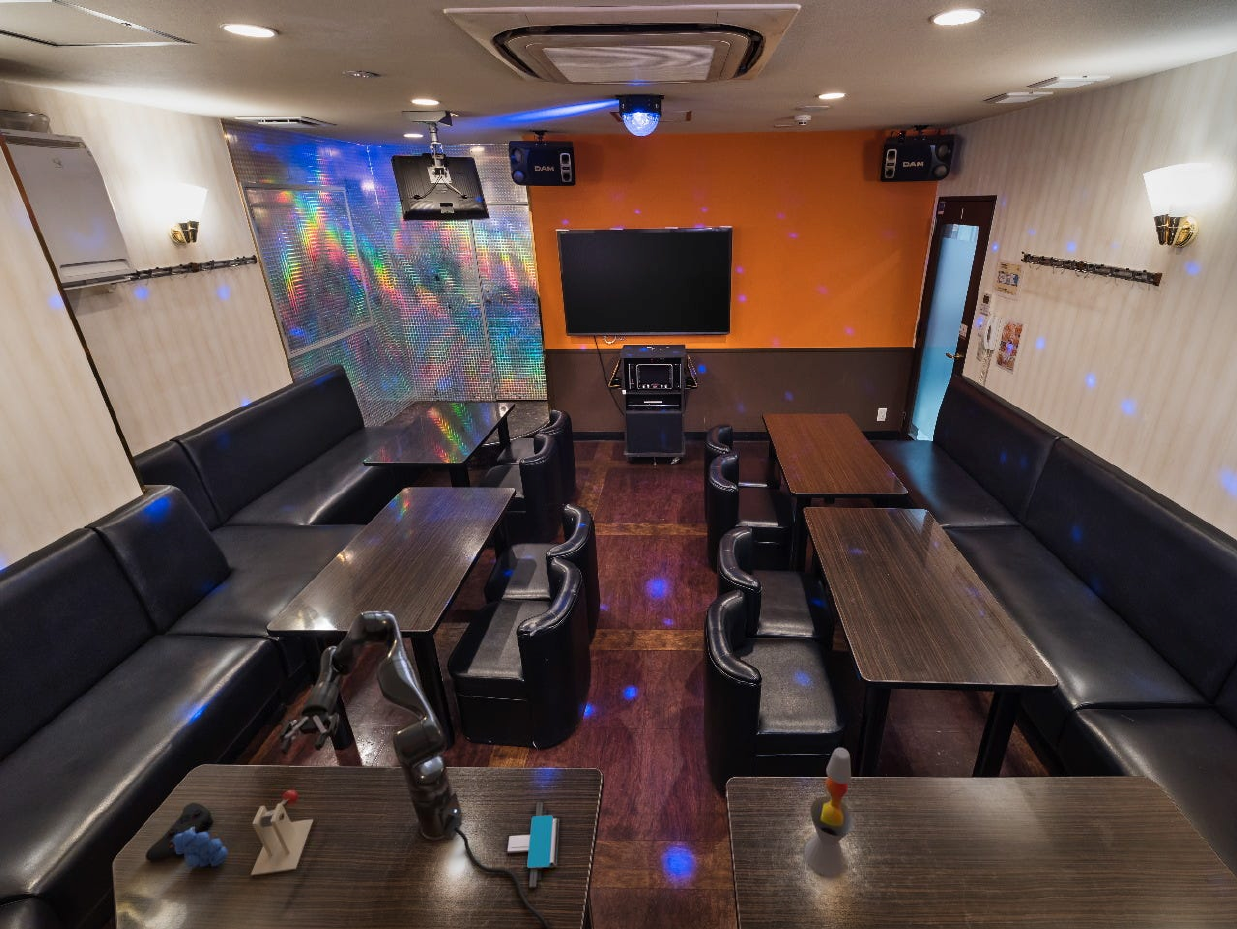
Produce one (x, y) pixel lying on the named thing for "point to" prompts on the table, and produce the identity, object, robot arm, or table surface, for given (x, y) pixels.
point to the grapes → (199, 848)
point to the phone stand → (538, 844)
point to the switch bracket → (279, 841)
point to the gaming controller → (180, 831)
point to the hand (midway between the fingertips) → (300, 750)
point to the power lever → (287, 800)
